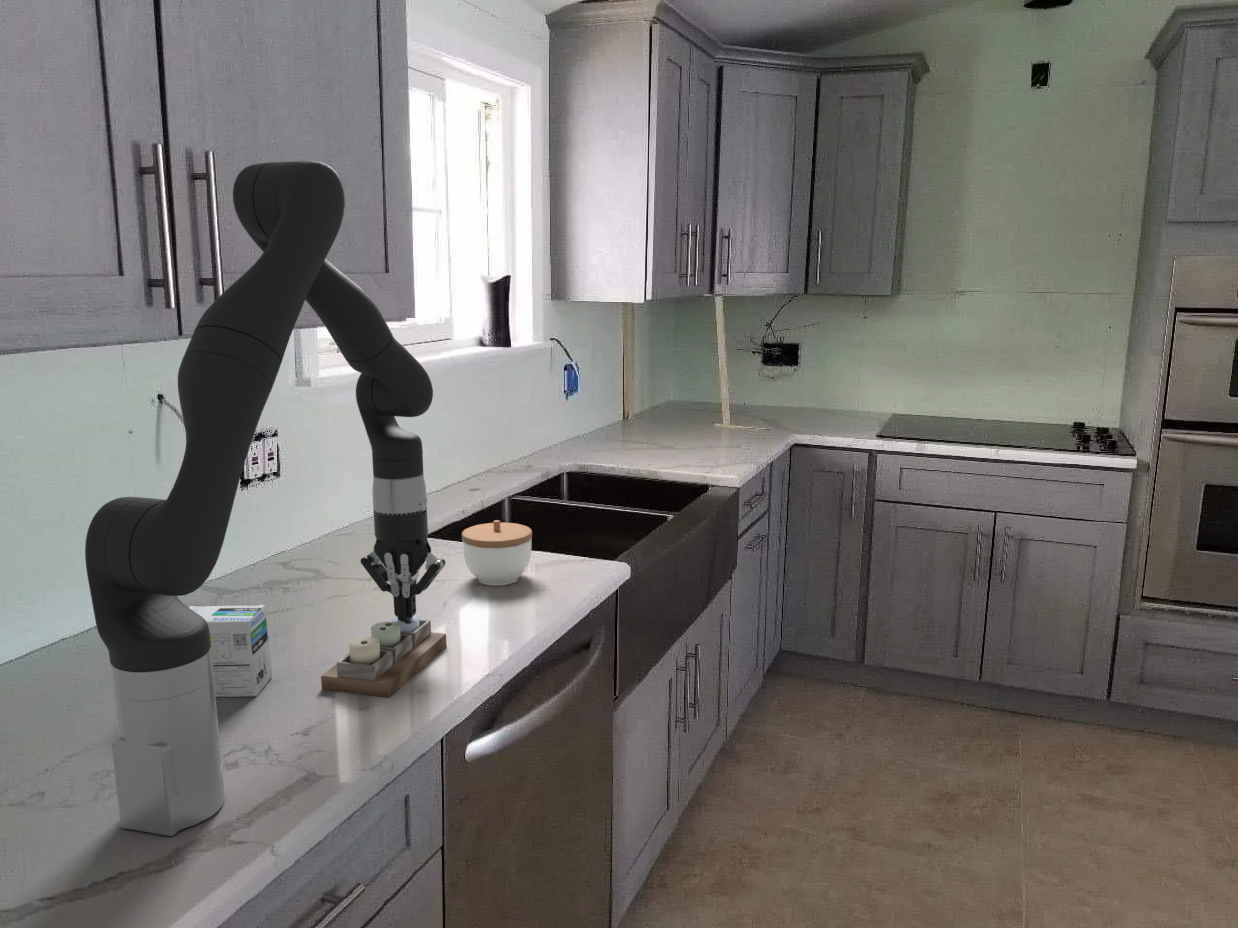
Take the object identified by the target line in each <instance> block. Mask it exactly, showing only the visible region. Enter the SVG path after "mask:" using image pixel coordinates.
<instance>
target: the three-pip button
mask: <svg viewBox="0 0 1238 928" xmlns="http://www.w3.org/2000/svg"><path fill="white" fill-rule="evenodd" d="M419 619H420V617H418V616H417V615H414V616H413V617H412V618H411V619H410V620H409V621H400V620H398V616H395V617H394V618H392V619H391V622H396V623H398V624H400V631H405V632H414V631H415V630H416V629H418V628H419V627H420V624H419Z"/></svg>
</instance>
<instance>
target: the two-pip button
mask: <svg viewBox="0 0 1238 928" xmlns="http://www.w3.org/2000/svg"><path fill="white" fill-rule="evenodd" d="M370 635H371V636H370V637H373V638H377V639H378V640H379V641H380V647H389V648H394V647H395V646H397V645H398V644H399V643H400V642H401V634H400V624H398V623H396V622H392V621H383V622H378V623H375V624H373V625H372V626H371V627H370Z"/></svg>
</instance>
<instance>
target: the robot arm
mask: <svg viewBox="0 0 1238 928" xmlns="http://www.w3.org/2000/svg"><path fill="white" fill-rule="evenodd" d="M232 187H233V188H232V202H233V206H234V211H235V213H236V216H237V218H238V220H239V222H240V225H242V227H243V228H244V230H245V231H246V233H247V234H248V236H249V237H250V238H251V240H252V241H253V242H254V243H255V245H257V247H258V248H259V249H260V250H261V251H262V254H261V255H260V257H259V258H258V259H257V260H256V261H255V262H254V264H253V265H252V266H251V267H249V268H248V269H247V270H246V272H244V273H243V274H242V275H241V276H240V277H239V278H238V279H237V280H236V281H235V282H233V283H232V284H231V285H230V286H229V287H228V288H226V290H225V291H223V292H222V294H220V295H219V296H218V297H217V298H216V299H215V300H214V301H213V302H212V303H211V305H209V306H208V308H207V309H206V310H205V311H204V313H203V314H202V316H201V317H200V318H199V321H198V322H197V324H196V326H195V329H194V331H193V334H192V335H191V339H189V342H188V345H187V347H186V350H185V352H184V355H183V357H182V359H181V363H180V365H179V368H178V372H177V392H178V399H179V404H180V410H181V414H182V420H183V425H184V431H185V449H184V455H183V458H182V462H181V464H180V465H181V466H180V469H179V471H178V473H177V477H176V479H175V481H174V484H173V487H172V489H171V490H170V492H169V495H168V497H167V498H166V499H163V498H151V497H141V496H140V497H139V496H124V497H123V496H121V497H117V498H114V499H112V500H110V501H108V502H106V503H104V504H103V505H102V506H101V507H100V508H99V509H98V510H97V511H96V512H95V514H94V516H93V517H92V519H91V521H90V524H89V525H88V528H87V532H86V536H85V538H86V539H85V542H84V543H85V545H84V546H85V547H84V548H85V549H84V551H85V552H84V555H85V556H84V559H85V567H86V576H87V581H88V586H89V592H90V597H91V604H92V610H93V613H94V614H93V615H94V620H95V625H96V629H97V632H98V635H99V637H100V639H101V641H102V642H103V644H104V645H105V646H106V649H107V650H108V655H109V662H110V671H111V678H112V688H113V697H114V706H115V707H114V708H115V716H116V723H117V724H116V725H117V732H118V737H117V738H115V739H114V740H113V741H112V742H111V750H112V751H111V753H112V758H113V759H112V760H113V768H114V777H115V787H116V794H117V795H116V796H117V803H118V804H117V805H118V810H119V819H120V827H121V828H122V829H126V830H133V831H139V832H143V833H144V832H145V833H151V834H157V835H162V836H169V837H170V836H171V837H173V836H174V835H176V834H177V833H178V832H180V831H181V830H184V829H186V828H189V827H193V826H196V825H198V824H200V823H203V822H204V821H206V820H207V819H209V818H211V817H212V816H214V815H215V814H216V813H217V812H218V811H220V809H221V808H222V806H223V804H224V803H225V799H226V798H225V787H224V786H225V785H224V774H223V765H222V753H221V743H220V734H219V733H220V732H219V720H218V710H217V700H216V698H217V697H215V686H214V675H213V663H212V652H211V641H210V631H209V627H208V624H207V622H206V621H205V619H204V618H203V617H202V616H200V615H199V614H197V613H196V612H194V611H193V610H191V609H190V608H188V606H187V605H186V604H184V603H183V602H182V601H181V599H180V598H179V597H180V596H186V595H189V594H193V592H195V591H197V590H198V589H199V588H200V587H202V586H203V584H204V583H205V582H206V581H207V580H208V578H210V575H211V573H212V572H213V570H214V568H215V566H216V564H217V563H218V562H217V561H218V560H219V557H220V554H221V552H222V548H223V545H224V543H225V538H226V533H227V531H228V527H229V522H230V519H231V515H232V511H233V506H234V502H235V498H236V495H237V491H238V488H239V484H240V480H241V476H242V472H243V469H244V465H245V463H246V459H247V457H248V454H249V450H250V448H251V445H252V443H253V439H254V436H255V434H256V433H255V432H256V430H257V428H258V427H257V426H258V424H259V421H260V419H261V416H262V413H263V412H264V411H263V410H264V408H265V406H266V403H267V401H268V399H269V397H270V395H271V392H272V390H273V387H274V384H275V381H276V380H277V379H276V378H277V376H278V373H279V371H280V368H281V366H282V362H283V359H284V356H285V354H286V353H285V352H286V350H287V347H288V344H289V342H290V338H291V336H292V333H293V331H294V328H295V326H296V323H297V321H298V318H299V316H300V314H301V311H302V310H303V309H302V308H303V307H304V303H305V302H307V304H308V305H309V306H310V308H311V310H313V311H314V312H315V314H316V315H317V317H318V318H319V319H320V321H321V322H322V324H323V326H325V329H326V330H327V331H328V333H329V335H330V336H331V338H332V339H333V340H332V341H334V342H335V344H336V346H337V348H338V350H339V351H340V353H341V355H342V356H343V358H344V359H345V362H347V364H348V365H349V366H350V368H352V370H354V371H356V372H358V373H360V375H359V376H358V379H357V381H356V386H355V399H356V404H357V408H358V411H359V414H360V417H361V419H362V423H363V427H364V429H365V432H366V436H367V438H368V441H369V445H370V447H371V457H372V460H371V461H372V475H373V477H372V479H373V480H372V507H373V508H372V510H373V511H372V512H373V526H374V527H373V529H374V536H375V538H376V539H375V543H374V545H373V551H371V552H370V553H368V554H367V555H365V556H363V557H361V559H360V564H361V565H362V567H363V568H364V569H365V571H366V572H367V573H368V574H369V576H370V577H371V578H372V580H373V581H374V582H375V584H376V585H377V586H378V588H379V590H380V591H381V592H384V593H385V592H387V593H389V594H391V595H392V596H393V609H394V610H393V612H394V616H395V617H398V620H400V621H409V620H410V619H411V618H412V617H413V616H416V614H417V603H416V602H417V599H416V596H417V595H420V594H422V592H424V591H425V590H427V589H428V588H429V587H430V585H431V584H432V583H433V582H434V580H435V579H436V578H437V576H438V575H439V573H440V572H441V571H442V570H443V568H444V567H445V566H446V560H445V559H444V558H438V557H436V556H435V555H434V554H433V553H432V547H431V545H430V543H429V541H428V535H429V525H428V523H429V522H428V521H429V520H428V496H427V487H426V482H425V475H424V474H425V473H424V458H423V457H424V455H423V454H424V452H423V442H422V439H421V437H420V436H419V435H418V434H417V433H414V432H411V431H408V430H405V429H404V428H402V427H401V426H400V425H399V424H398V422H397V419H396V417H400V418H401V417H402V418H416V417H420V416H421V415H423V414H425V413H426V412H427V411H428V410H429V408H430V406H431V405H432V402H433V397H434V389H433V384H432V381H431V379H430V376H429V373H428V372H427V370H426V369H425V368H424V367H423V366H422V364H421V363H420V362H419V361H418V360H417V359H416V358H415V357H414V356H413V355H412V354H411V353H410V352H409V351H408V350H407V348H406V347H405V346H403V345H402V344H401V343H400V342H399V341H398V340H397V339H396V337H394V335H393V333H392V331H391V329H390V327H389V326H388V324H387V322H386V320H385V318H384V316H383V314H382V312H381V311H380V309H379V308H378V306H377V304H376V303H375V302H374V300H373V299H372V298H371V297H370V295H368V294H367V292H365V291H364V290H363V288H361V287H360V286H359V285H358V284H357V283H355V281H352V279H350V278H349V277H347V276H346V274H344V273H343V272H341V270H339V269H338V268H337V267H335V265H333V264H332V263H331V262H330V261H329V260H328V259H327V257H328V254H329V253H330V250H331V249H332V246H333V245H334V242H335V240H336V238H337V236H338V233H339V232H340V229H341V226H342V224H343V223H342V222H343V219H344V215H345V207H346V206H345V204H346V197H345V196H346V195H345V190H344V185H343V182H342V180H341V177H340V176H339V174H338V173H337V172H336V170H335V169H334V168H332V167H331V166H329V164H326V163H324V162H321V161H315V160H285V161H271V162H270V161H269V162H261V163H260V162H259V163H255V164H250V165H248V166H246V167H244V168H243V169H242V170H240V171H239V172H238V174H237V176H236V178H235V181H234V183H233V186H232ZM424 564H425V566H424V567H425V568H424V569H425V570H426V571H425V573H424V574H423V575H422V577H421V578H420V579H419V580H418V578H419V577H420V569H421V568H422V566H423V565H424ZM178 596H179V597H178Z"/></svg>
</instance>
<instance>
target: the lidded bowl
mask: <svg viewBox="0 0 1238 928" xmlns="http://www.w3.org/2000/svg"><path fill="white" fill-rule="evenodd" d="M532 538H533V530H532V529H531V528H530V527H529V526H527V525H524V524H520V523H515V522H514V523H513V522H501V520H497V519H496V520H495V519H494V520H493V522H488V523H482V524H481V523H479V524H475V525H473V526H469V527H468V528H465V529H464V530H462V533H461V540H462V550H463V556H464V557H463V558H464V560H465V564H466V567H467V569H468V570H469V571H470V573H471V574H472V575H473V576H474V577H475V578H476V579H477V580H478V582H479V583H480V584H483V585H486V586H491V587H492V586H493V587H494V586H500V587H501V586H507V585H511V584H514V583H516V582H517V581H518V580H519V577H521V575H523V574H524V573H525V571H526V570H527V567H528V565H529V563H530V559H531V554H532Z"/></svg>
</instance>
